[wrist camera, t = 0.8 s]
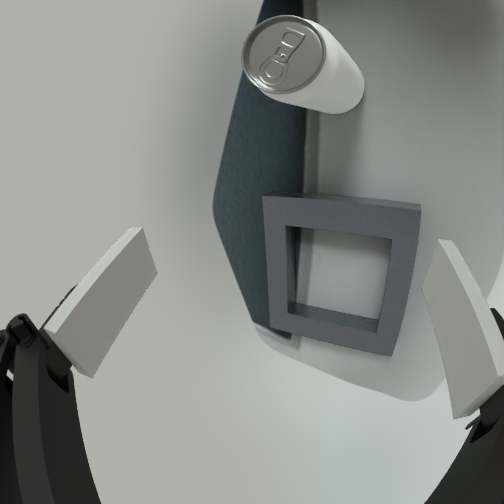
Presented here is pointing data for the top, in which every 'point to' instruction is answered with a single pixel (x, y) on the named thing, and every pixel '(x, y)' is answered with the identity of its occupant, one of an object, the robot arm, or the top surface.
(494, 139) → the top surface
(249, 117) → the top surface
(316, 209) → the jig
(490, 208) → the top surface
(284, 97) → the can
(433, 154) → the top surface
